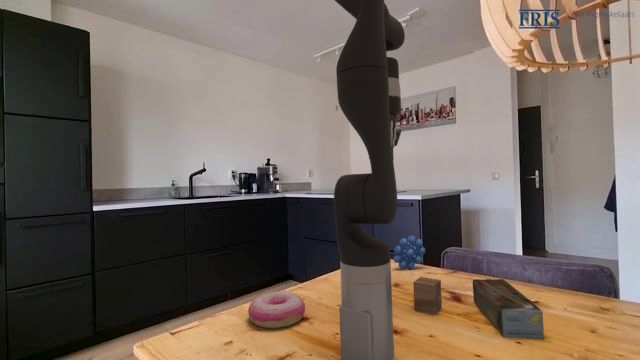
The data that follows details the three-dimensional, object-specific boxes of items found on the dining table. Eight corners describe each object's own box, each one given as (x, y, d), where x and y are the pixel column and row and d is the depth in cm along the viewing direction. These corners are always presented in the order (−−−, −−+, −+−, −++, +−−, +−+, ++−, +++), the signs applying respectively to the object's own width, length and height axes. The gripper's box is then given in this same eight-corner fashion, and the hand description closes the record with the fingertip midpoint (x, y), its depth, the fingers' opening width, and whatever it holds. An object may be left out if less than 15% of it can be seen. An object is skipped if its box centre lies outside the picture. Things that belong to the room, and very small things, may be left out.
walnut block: (435, 315, 73) (434, 285, 74) (414, 310, 77) (413, 281, 77) (441, 308, 77) (440, 279, 77) (421, 304, 80) (420, 276, 81)
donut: (263, 338, 65) (262, 314, 65) (239, 317, 76) (238, 297, 76) (316, 320, 73) (315, 299, 73) (287, 303, 84) (287, 285, 84)
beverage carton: (501, 338, 62) (499, 305, 62) (471, 302, 81) (470, 276, 81) (545, 341, 61) (544, 306, 61) (505, 303, 80) (504, 277, 80)
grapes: (421, 265, 117) (420, 233, 117) (428, 270, 110) (427, 236, 110) (390, 266, 116) (389, 234, 116) (396, 271, 110) (394, 237, 110)
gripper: (388, 90, 78) (390, 159, 78) (409, 100, 88) (411, 161, 88) (362, 96, 82) (364, 162, 82) (384, 105, 93) (387, 163, 93)
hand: (388, 161), depth 85 cm, fingers closed
